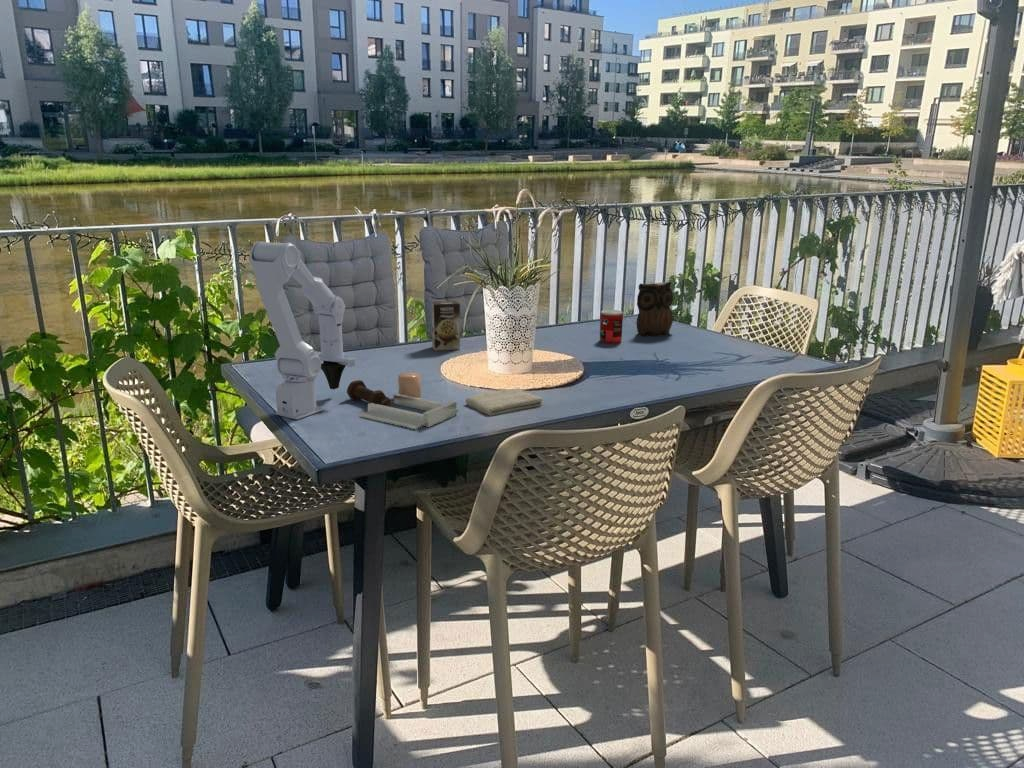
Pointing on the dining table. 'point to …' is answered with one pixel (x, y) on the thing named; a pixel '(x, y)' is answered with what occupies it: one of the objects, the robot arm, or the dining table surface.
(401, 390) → the tan rounded block
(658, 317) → the owl
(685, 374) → the dining table surface
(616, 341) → the canned food
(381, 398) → the bolt
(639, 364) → the dining table surface
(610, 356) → the dining table surface
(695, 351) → the dining table surface
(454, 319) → the cookie box
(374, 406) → the bracket
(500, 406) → the washcloth
